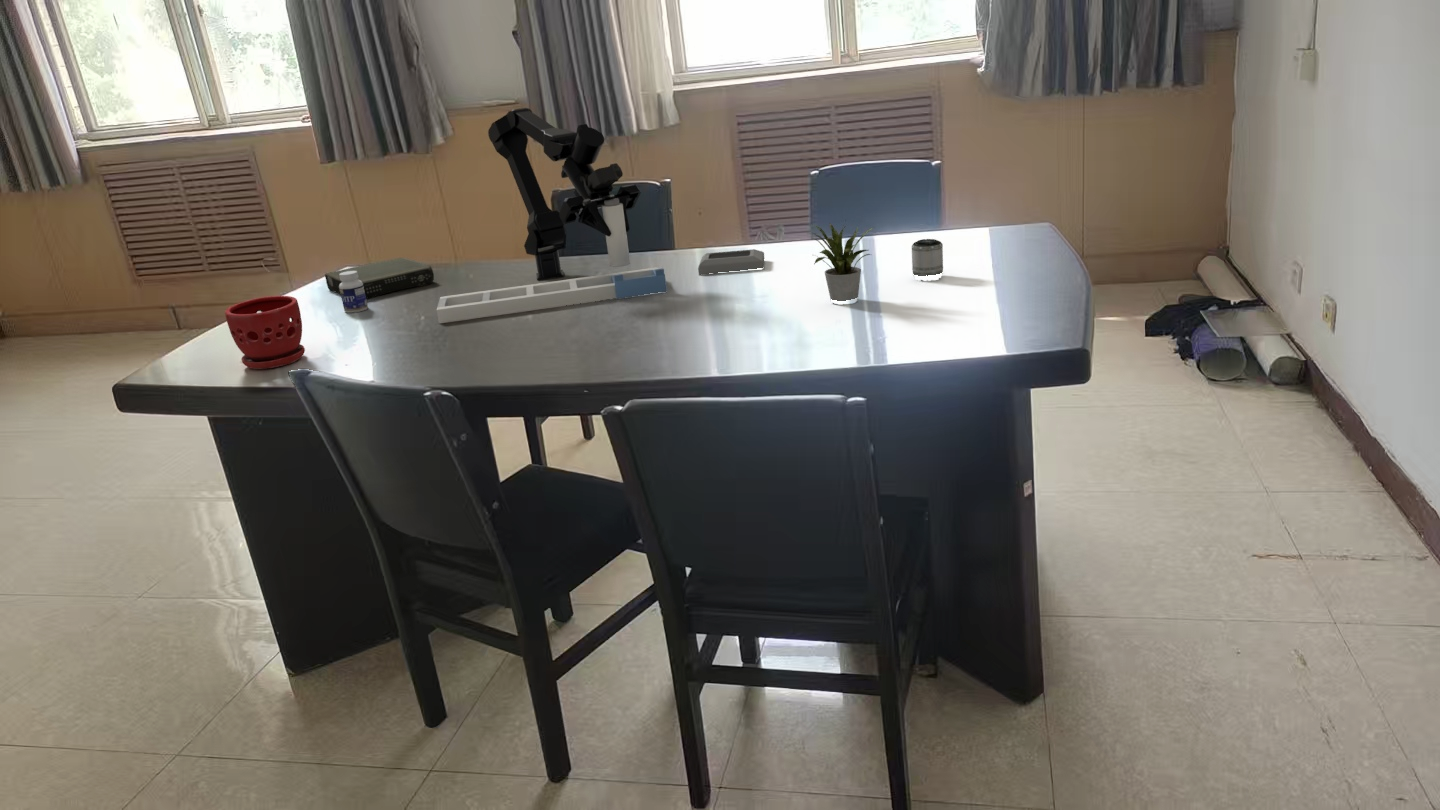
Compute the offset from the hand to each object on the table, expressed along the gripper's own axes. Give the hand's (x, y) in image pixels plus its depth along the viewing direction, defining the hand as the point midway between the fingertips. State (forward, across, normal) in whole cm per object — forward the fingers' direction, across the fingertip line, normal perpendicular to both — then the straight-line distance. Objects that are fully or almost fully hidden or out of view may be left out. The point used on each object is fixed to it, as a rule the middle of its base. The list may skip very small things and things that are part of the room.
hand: (619, 232), depth 218 cm
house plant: (+42, +19, -23) cm, 52 cm away
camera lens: (+45, +42, -26) cm, 66 cm away
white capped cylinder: (+4, 0, +6) cm, 7 cm away
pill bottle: (-24, -43, +44) cm, 66 cm away
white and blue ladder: (+2, -13, +17) cm, 21 cm away
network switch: (-37, -30, +57) cm, 74 cm away
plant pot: (-5, -70, +24) cm, 74 cm away
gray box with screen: (+12, +28, +8) cm, 32 cm away
